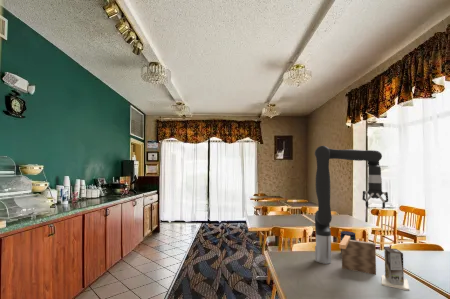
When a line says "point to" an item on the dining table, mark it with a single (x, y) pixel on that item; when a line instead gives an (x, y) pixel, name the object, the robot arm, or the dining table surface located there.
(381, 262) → the dining table surface
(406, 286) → the cream pad
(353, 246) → the brown wooden flat panel
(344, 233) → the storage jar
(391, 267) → the coffee box
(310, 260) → the dining table surface
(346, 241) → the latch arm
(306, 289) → the dining table surface
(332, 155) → the robot arm
